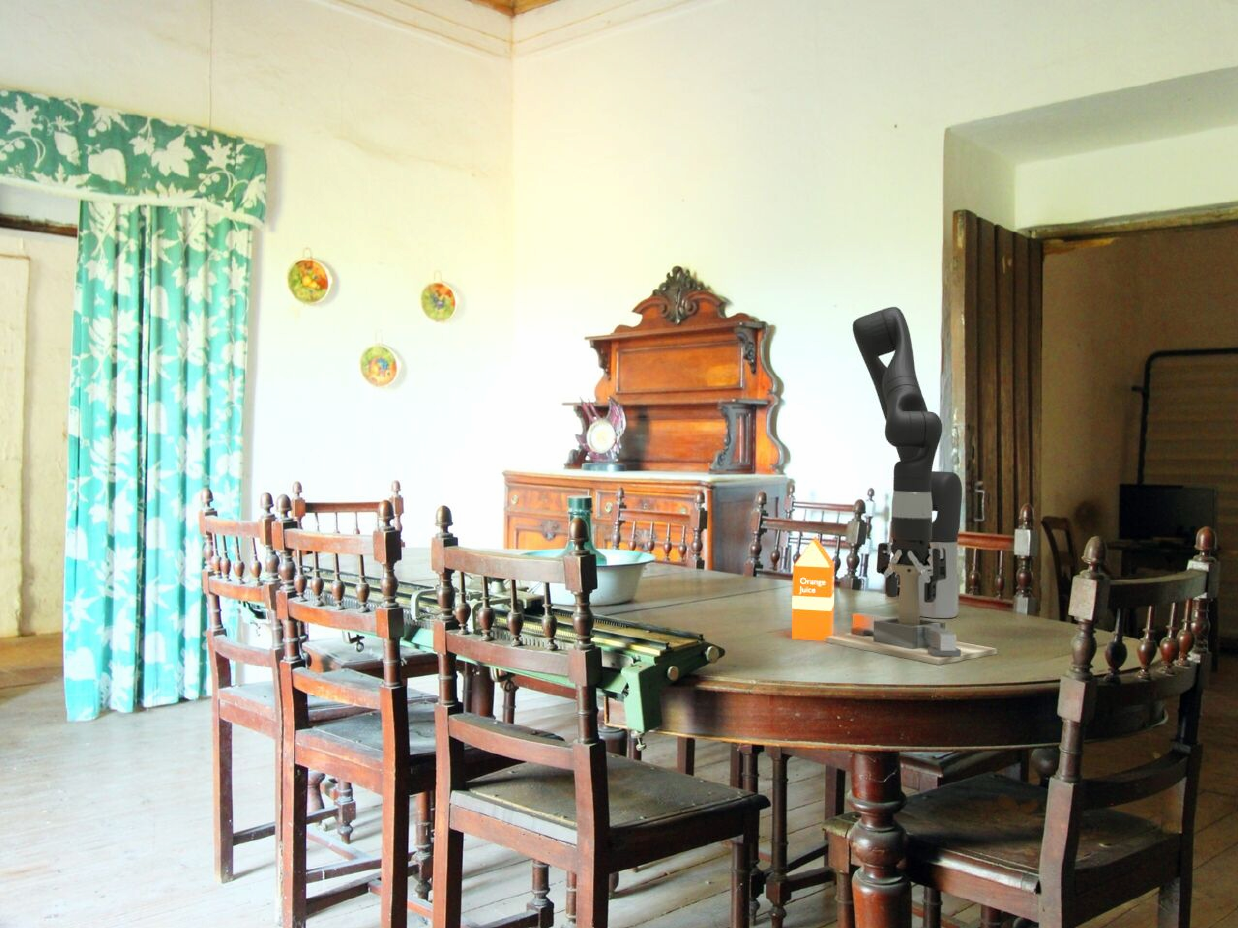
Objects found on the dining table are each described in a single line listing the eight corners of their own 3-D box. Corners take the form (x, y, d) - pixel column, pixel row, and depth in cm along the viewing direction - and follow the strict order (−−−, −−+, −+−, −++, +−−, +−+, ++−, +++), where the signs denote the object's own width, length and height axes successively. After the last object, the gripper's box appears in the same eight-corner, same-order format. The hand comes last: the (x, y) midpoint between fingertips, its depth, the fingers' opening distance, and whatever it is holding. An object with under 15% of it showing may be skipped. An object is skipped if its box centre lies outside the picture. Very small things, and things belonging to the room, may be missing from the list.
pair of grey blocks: (865, 631, 210) (865, 611, 210) (979, 652, 189) (980, 631, 189) (832, 636, 203) (832, 616, 203) (947, 659, 183) (947, 636, 183)
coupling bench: (883, 632, 214) (884, 608, 214) (996, 653, 193) (997, 627, 193) (825, 641, 203) (826, 616, 203) (938, 665, 182) (939, 636, 182)
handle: (891, 638, 201) (892, 562, 201) (926, 640, 200) (926, 563, 199) (891, 643, 197) (891, 565, 196) (926, 645, 195) (926, 566, 194)
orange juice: (833, 633, 213) (835, 536, 212) (830, 640, 204) (832, 540, 204) (795, 631, 215) (797, 535, 215) (790, 638, 206) (792, 538, 206)
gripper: (955, 516, 194) (953, 602, 195) (893, 512, 206) (891, 593, 206) (931, 518, 190) (929, 606, 190) (869, 513, 201) (867, 596, 201)
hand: (910, 599), depth 198 cm, fingers open, 8 cm apart
